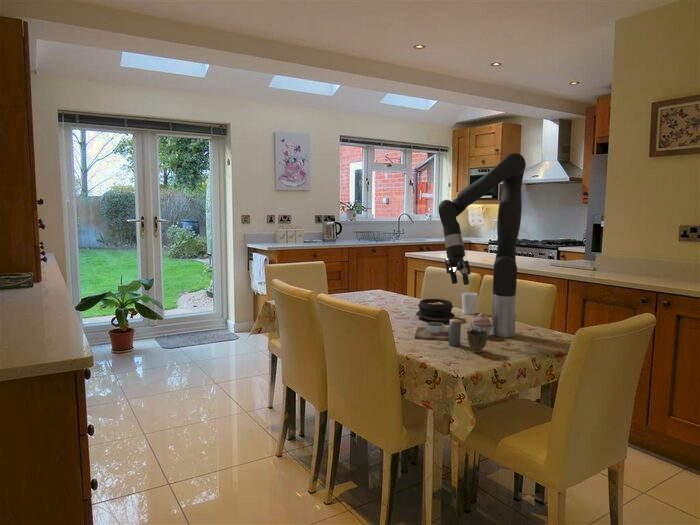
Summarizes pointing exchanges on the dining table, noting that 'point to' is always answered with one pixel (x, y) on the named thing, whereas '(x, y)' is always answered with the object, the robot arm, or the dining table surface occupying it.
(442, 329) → the grey octagonal sleeve
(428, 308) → the casserole
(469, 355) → the dining table surface
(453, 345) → the grey cylinder tan top
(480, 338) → the cup
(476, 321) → the cupcake
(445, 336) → the board
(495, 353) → the dining table surface
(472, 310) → the white cup
